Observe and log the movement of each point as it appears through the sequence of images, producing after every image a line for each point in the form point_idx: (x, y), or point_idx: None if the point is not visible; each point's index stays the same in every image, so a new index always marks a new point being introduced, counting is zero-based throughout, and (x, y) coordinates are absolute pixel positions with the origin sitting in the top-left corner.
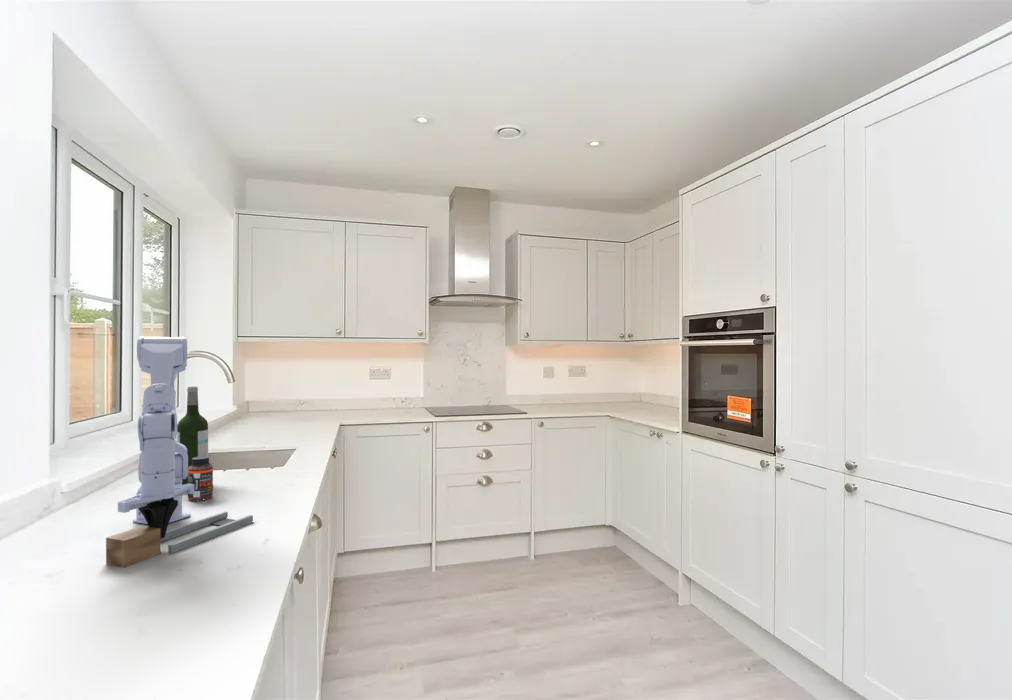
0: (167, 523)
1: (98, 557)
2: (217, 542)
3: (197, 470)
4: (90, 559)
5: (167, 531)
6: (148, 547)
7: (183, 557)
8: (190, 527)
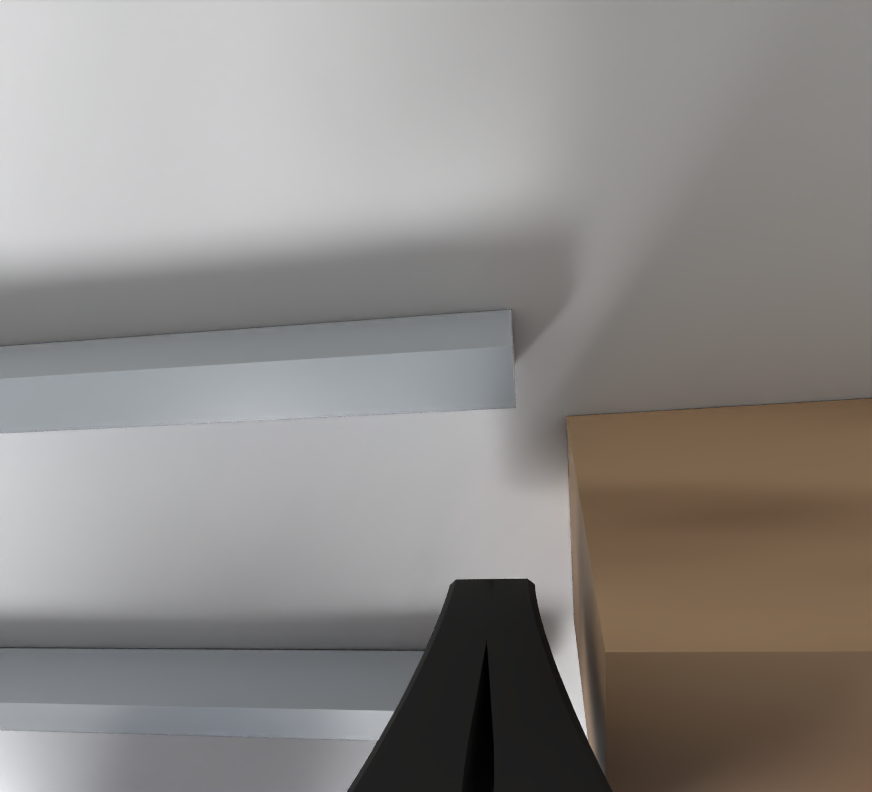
0: (416, 721)
1: None
2: (12, 128)
3: None
4: None
5: (281, 730)
6: (756, 477)
7: (544, 6)
8: (86, 680)
